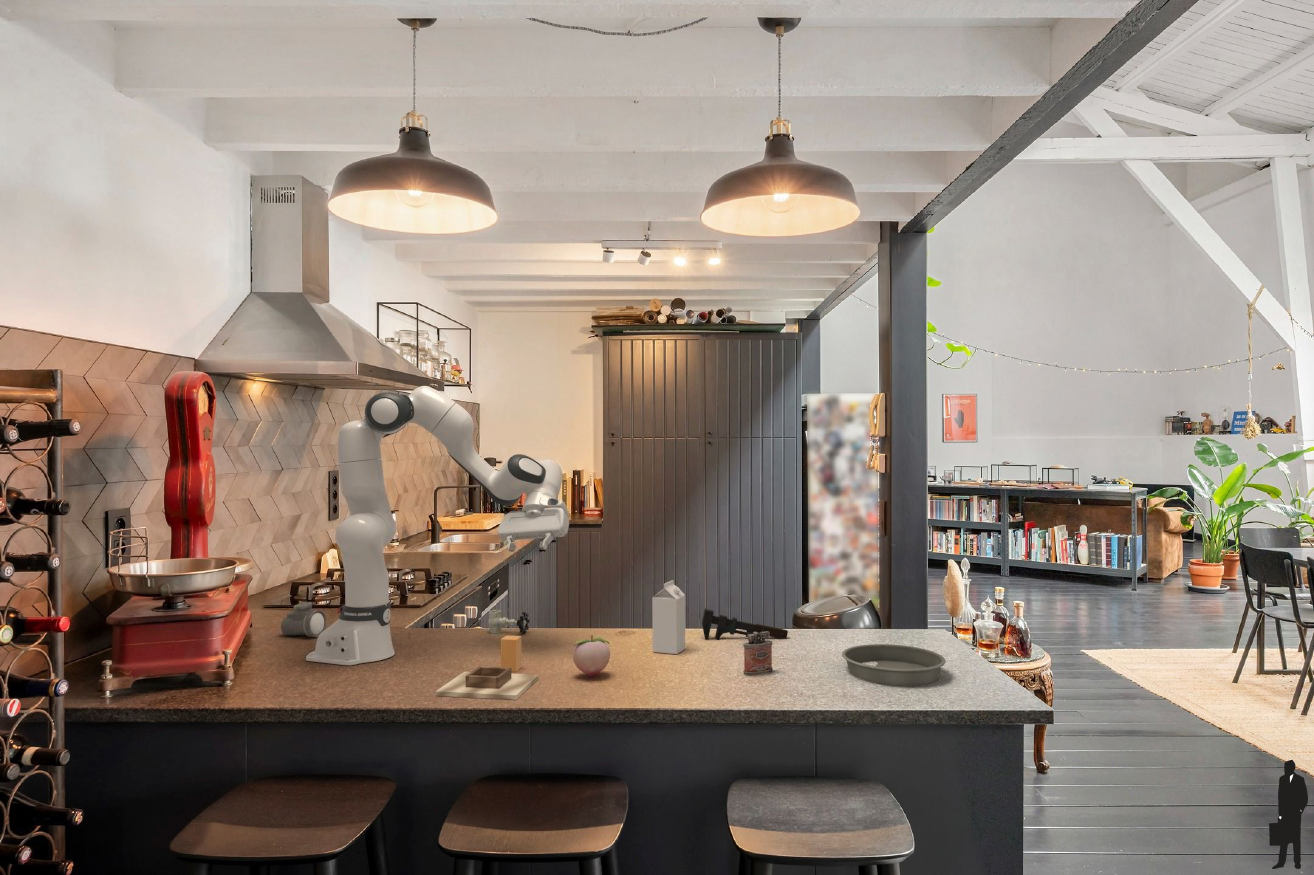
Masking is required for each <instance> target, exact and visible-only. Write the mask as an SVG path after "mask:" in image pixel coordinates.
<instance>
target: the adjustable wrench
mask: <svg viewBox="0 0 1314 875" xmlns="http://www.w3.org/2000/svg"><path fill="white" fill-rule="evenodd" d="M714 612H715V611H714V610H713V609H708V608H704V610H703V613H702V614H703V615H702V620H701V626H702V631H703V636H704V637H703V638H704V640H705V641H707V640H708V641H709V638H710V632H711V627H712V625H713V624H714V625H716V629H715V636H714V639H715V641H717V640H718V641H719V640H720V639H721V637H722V636H723V634H730V635H732V636H735V634H738V635H741V636H742V635H743V636H745V638H748V635H749V634H753V632H757V633H760V632H766V631H768V632H769V635H770V637H769V638H776V639H780V640H787V639H788V634H789V630H787V629H785V628H779V627H775V626H771V625H770V626H769V625H765V624H760V623H750V622H746V621H741V620H738V618H737V617H734V616H733V617H732V618H728V615H724V614H719V616H717V615H714Z"/></svg>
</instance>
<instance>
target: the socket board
mask: <svg viewBox="0 0 1314 875" xmlns="http://www.w3.org/2000/svg"><path fill="white" fill-rule="evenodd" d="M539 676H540V675H539V674H529V673H528V674H527V673H513V672H511V668H502V667H501V666H500V667H498V666H478V667H476V668H475V669H473V670H472V671H463V672H462V673H461V674H459V675H457V676H456V677H454V678H453V679H451V680H450V681H448V682H447V683H446V684H444V685H443V686H441V687H440V688H438V689H437V690H436V691H435V697H451V698H453V697H454V698H455V697H456V698H471V699H472V698H475V699H491V700H492V699H493V700H494V699H495V700H511V701H512V700H514V701H515V700H516V701H517V699H518V698H520V697H521V696H522V695H523V694H524V693H525V692H526V691H527V690H528V689H529V688H530V687H532V686H533V684H535V683H536V682H537V681H538V680H539V679H540V677H539Z"/></svg>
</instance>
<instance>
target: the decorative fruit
mask: <svg viewBox="0 0 1314 875" xmlns="http://www.w3.org/2000/svg"><path fill="white" fill-rule="evenodd" d="M593 636H594V635H593V634H591V637H590V638H591V639H586V638H585V639H584V638H583V639H580V640H578V641H576V642H575V643H574V644H573V645H572V646H573V647H574V649H573V651H572V661H573V663H574V665H575V666H576V668H577V669H578V670H579V671H581V672H582V673H583V674H586V675H588V676H590V677H593V676H594V675H597V674H598V673H600V672H602V671H603V670H604V669H605V668H606V667H607V665H608V664H609V661H610V656H611V650H610V648H609V646H608V645H607V644H609V645H610V644H611V643H610V642H609V641H608V640H607V639H605V638H601V637H596V638H594V637H593ZM593 638H594V639H593Z"/></svg>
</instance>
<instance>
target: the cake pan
mask: <svg viewBox="0 0 1314 875" xmlns="http://www.w3.org/2000/svg"><path fill="white" fill-rule="evenodd" d="M841 656H842V658H843V659H844V660H845V661H846V665H847V668H848V672H849V673H850V674H851V675H853V676H854V677H855V678H858V679H860V680H863V681H867V682H871V683H876V684H879V685H886V686H887V685H888V686H899V687H901V686H902V687H903V686H905V687H910V686H911V687H914V686H923V685H929V684H932V683H934V682H937V681H938V680H939V678H940V674H941V669H942V668H941V667H943V666H945V665H946V659H945V657H944V655H941V654H940V653H937V652H935V651H933V650H930V649H926V648H921V647H918V646H917V647H916V646H912V645H911V646H910V645H902V644H892V643H891V644H889V643H883V644H882V643H874V644H861V645H855V646H851V647H849V648H847V649H844V650H843V651H842V653H841ZM872 662H873V663H877V664H875V665H870V664H867V663H872ZM865 663H866V664H865Z"/></svg>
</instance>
